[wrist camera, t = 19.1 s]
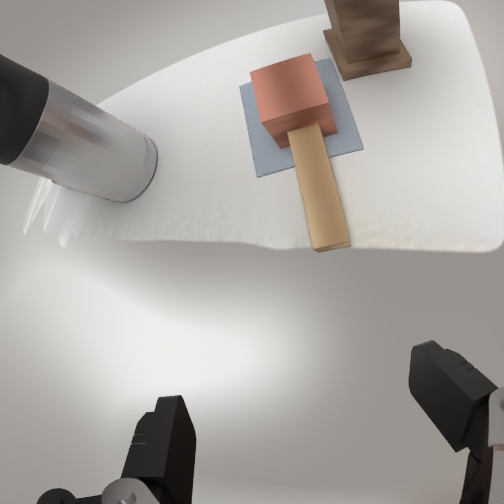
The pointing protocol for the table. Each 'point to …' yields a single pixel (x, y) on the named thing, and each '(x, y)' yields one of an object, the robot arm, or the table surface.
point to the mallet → (304, 141)
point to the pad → (277, 159)
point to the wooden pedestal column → (365, 37)
